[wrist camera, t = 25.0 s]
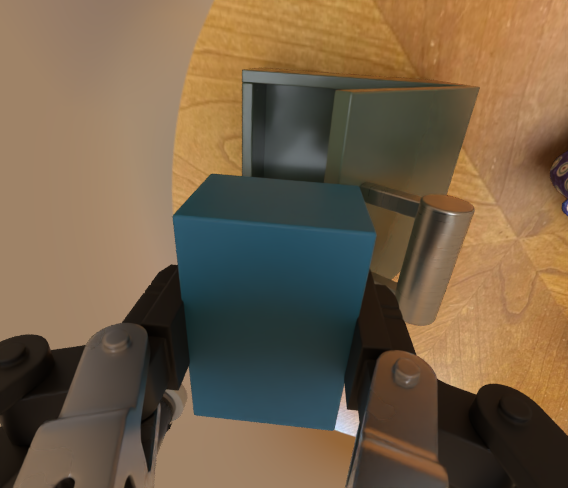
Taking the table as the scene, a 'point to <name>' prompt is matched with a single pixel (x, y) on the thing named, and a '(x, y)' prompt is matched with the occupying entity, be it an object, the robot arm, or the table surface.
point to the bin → (298, 118)
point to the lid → (406, 183)
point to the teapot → (561, 178)
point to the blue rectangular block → (271, 295)
